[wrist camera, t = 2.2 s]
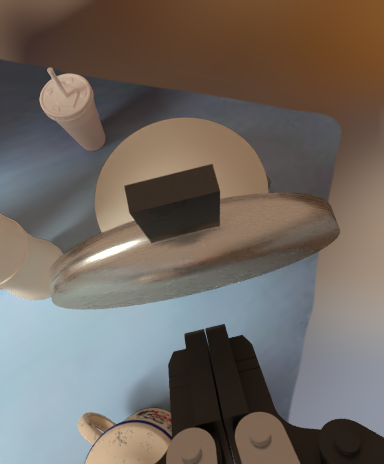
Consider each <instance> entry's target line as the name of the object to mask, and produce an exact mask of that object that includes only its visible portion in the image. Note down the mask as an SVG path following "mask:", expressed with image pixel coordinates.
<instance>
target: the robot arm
mask: <svg viewBox="0 0 384 464" xmlns="http://www.w3.org/2000/svg"><path fill="white" fill-rule="evenodd" d="M206 334H207V338H206V335H205V331H204V329H202V330H198V331H194V332H190V333H186V334H185V344H186V349H183V350H179V351H175V352H173V354H172V357H171V359H170V362H169V364H168V368H169V387H170V406H171V425H172V437H171V442H170V444H169V446H168V449H167V451H166V453H165V454H164V455H163V456H162V458H161V459H160V460H159V461H158V462H156V463H155V464H234V462H233V457H232V452H233V455H234V459H235V463H236V464H384V438H383V437H382V436H380V435H378V434H376V433H375V432H373V431H371V430H369V429H368V428H366V427H364V426H362V425H361V424H359V423H357V422H355V421H351V420H348V419H335V420H332V421H330V422H328V423H327V424H325V425H324V426H323V428H322V429H321V430H318V429H307V428H300V427H296V426H293V425H291V424H289V423H288V422H286V421H285V420H283V419H282V418H281V417H280V416H279V414H278V413H277V411H276V410H275V407H274V405H273V402H272V399H271V396H270V394H269V391H268V388H267V385H266V382H265V380H264V377H263V374H262V371H261V369H260V366H259V363H258V360H257V357H256V354H255V352H254V349H253V346H252V344H251V343H250V342H249V341H248V340H247V339H246V338H245V337H244V336H243V335H240V336H236V337H232V338H228V334H227V331H226V327H225V324H222V325H218V326H214V327H210V328H206ZM207 339H208V342H207ZM208 344H209V346H208ZM209 349H210V350H209ZM228 437H229V438H228ZM229 441H230V442H229ZM230 444H231V447H230ZM231 448H232V452H231Z"/></svg>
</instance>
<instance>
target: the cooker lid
mask: <svg viewBox="0 0 384 464" xmlns="http://www.w3.org/2000/svg"><path fill="white" fill-rule="evenodd" d="M124 188H125V193H126V198H127V203H128V208H129V213H130V215H131V216H132V218H133V219H134V221H131V222H128V223H125V224H123V225H120V226H118V227H115V228H112V229H110V230H107V231H105V232H103V233H100V234H98V235H96V236H94V237H92V238H90V239H88V240H85V241H84V242H82V243H80V244H78V245H77V246H75V247H73V248H71V249H70V250H69V251H67V252H66V253H64V254H63V255H62V256H60V257H59V258H58V259H57V260H56V261H55V262H54V263H53V265H52V266H51V268H50V270H49V280H50V289H51V297H52V302H53V303H54V304H55V305H57V306H59V307H63V308H68V309H83V310H85V309H107V308H117V307H126V306H133V305H140V304H146V303H152V302H158V301H163V300H168V299H173V298H178V297H183V296H187V295H192V294H196V293H200V292H204V291H208V290H212V289H216V288H220V287H223V286H227V285H231V284H234V283H237V282H241V281H244V280H247V279H251V278H254V277H257V276H260V275H263V274H266V273H269V272H271V271H274V270H277V269H280V268H282V267H285V266H287V265H290V264H292V263H295V262H297V261H300V260H302V259H304V258H306V257H308V256H310V255H312V254H314V253H316V252H318V251H320V250H321V249H323V248H325V247H326V246H328V245H329V244H331V243H332V242H333V241H334V240H335V239H336V238H337V237H338V235H339V233H340V229H339V227H338V224H337V221H336V219H335V216H334V213H333V211H332V208H331V206H330V204H329V203H328V202H327V201H326V200H324V199H322V198H320V197H317V196H313V195H309V194H301V193H260V194H250V195H242V196H233V197H227V198H221V199H220V189H219V185H218V182H217V178H216V175H215V171H214V167H213V164H209V165H205V166H201V167H197V168H193V169H189V170H185V171H181V172H177V173H173V174H169V175H165V176H161V177H157V178H153V179H149V180H145V181H141V182H137V183H133V184H129V185H125V186H124Z"/></svg>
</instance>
